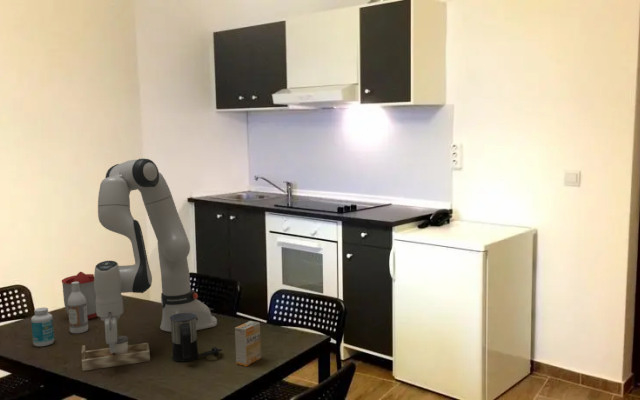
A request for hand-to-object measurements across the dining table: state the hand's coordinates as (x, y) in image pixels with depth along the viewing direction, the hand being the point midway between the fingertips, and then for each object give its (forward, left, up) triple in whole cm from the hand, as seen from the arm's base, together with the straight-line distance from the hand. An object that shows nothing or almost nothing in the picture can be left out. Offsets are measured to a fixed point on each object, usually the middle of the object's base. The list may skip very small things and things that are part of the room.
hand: (112, 347), depth 215 cm
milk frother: (-28, +7, -5) cm, 29 cm away
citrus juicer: (+11, -58, -5) cm, 59 cm away
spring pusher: (+1, 0, -4) cm, 4 cm away
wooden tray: (-1, 0, -5) cm, 5 cm away
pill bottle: (+25, -29, -5) cm, 39 cm away
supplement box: (-44, +18, -5) cm, 48 cm away
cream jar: (-3, 0, -4) cm, 5 cm away
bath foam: (+13, -39, -5) cm, 41 cm away
